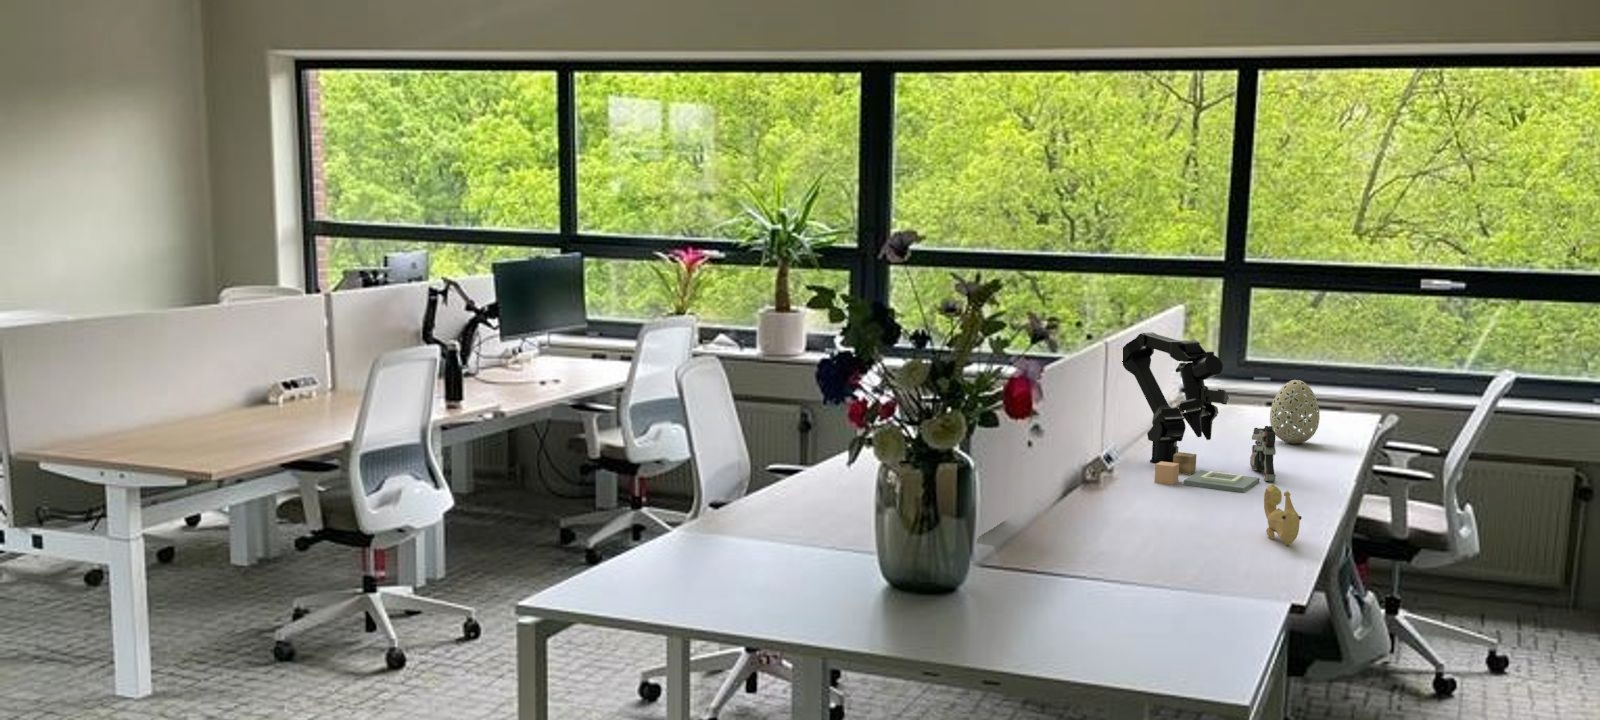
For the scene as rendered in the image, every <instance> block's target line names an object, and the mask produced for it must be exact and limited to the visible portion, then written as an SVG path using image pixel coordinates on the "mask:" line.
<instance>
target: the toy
mask: <svg viewBox="0 0 1600 720" xmlns="http://www.w3.org/2000/svg"><path fill="white" fill-rule="evenodd" d="M1263 496H1264V497H1263V498H1264V499H1263V506H1264V507H1263V509H1264V513H1265V517H1266V519H1267V528H1266V530H1265V532H1266V535H1267V537H1268V538H1269V539H1271V540H1273V539H1275V537H1276V534H1277V535H1278V537H1279V539H1280V540H1281V541H1282V542H1283V543H1284V545H1286V546H1287V545H1288V546H1291V544H1292V543H1293V542H1294V541H1295V540H1296V539H1297V538H1298V535H1299V530H1300V524H1301V523H1300V522H1301V520H1302V516H1301V515H1299V514H1298V512H1297V511H1296V510H1295V508H1294V505H1293V502H1292V499H1291V497H1290V496H1291V492H1289V491H1288V490H1285V491H1284V493H1283V495H1282V491H1281V490H1280V489H1279V488H1278V486H1276V485H1275V484H1274V483H1271V484H1270V485H1267V487H1266V489H1265V491H1264V495H1263ZM1283 496H1284V497H1285V500H1284V510H1282V509H1281V508H1280V507H1278V508H1277V506H1278V505H1280V504H1281V503H1282V499H1283Z"/></svg>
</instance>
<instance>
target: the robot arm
mask: <svg viewBox="0 0 1600 720" xmlns="http://www.w3.org/2000/svg"><path fill="white" fill-rule="evenodd" d="M1122 348H1123V361H1122V362H1123V365H1122V366H1123V368H1124V369H1125V371H1127V372H1129V373H1131V375H1133V376H1134V377H1135V380H1136V381H1137V385H1139V387H1140V390H1141V392H1142V393H1143V396H1144V397H1145V399H1146V402H1147V403H1148V405H1149V408H1150V410H1151V411H1152V416H1153V417H1152V421H1151V424H1152V427H1151V428H1150V429H1149V430H1148V431H1147V433H1146V435H1147V439H1148V441H1151V442H1152V450H1151V451H1152V452H1151V459H1149V463H1150V462H1151V463H1155V464H1157V463H1159V462H1161V461H1163V462H1171V463H1173V455H1174V454H1176V453H1178V452H1179V446H1178V442H1182V441H1183V438H1184V435H1185V432H1186V423H1185V421H1186V422H1187V424H1188V425H1189V426H1190V429H1192V431H1193V432H1194V434H1195V436H1196V437H1197V438H1202V437H1203V436H1204V438H1205V440H1206V441H1210V440H1212V431H1213V430H1212V428H1213V421H1214V420H1215V418H1216V417H1217V416H1218V415H1219V409H1218V406H1216V405H1215V404H1214V403H1217V404H1221V405H1227V403H1228V400H1229V399H1230V398H1229V392H1226V390H1225V389H1220V388H1218V389H1217V390H1212V389H1209V387H1208V386H1207V385H1205V381H1206V380H1208V379H1210V378H1214V377H1215V376H1217V375H1219V374H1221V373H1222V372H1223V366H1224V365H1223V362H1222V360H1221V359H1220V358H1219V357H1218V356H1217V355H1215V352H1214V351H1206V350H1205V349H1204V348H1203V347H1202V346H1201V343H1200V342H1199V341H1198V340H1179V339H1174V338H1170V337H1167V336H1164V335H1161V334H1157V333H1155V332H1141V333H1139V334H1138V335H1137V336H1136V337H1135V338H1134V339H1132V340H1131V341H1129V342H1127V343H1126V344H1125V345H1124V346H1123V347H1122ZM1155 350H1156V351H1160V352H1163V353H1166V354H1169V357H1170V358H1172V359H1173V360H1175V361H1176V362H1180V363H1178V366H1177V367H1176V369H1175V373H1180V376H1181V381H1182V386H1183V388H1181V391H1182V393H1184V397H1185V399H1184V400H1181V401H1180V402H1179V403H1178V406H1177V407H1171V406H1170V405H1169V404H1168V403H1169V402H1168V401H1167V399H1166V397H1165V395H1164V394H1163V391H1162V389H1161V386H1160V385H1159V383H1158V381H1157V379H1156V378H1155V375H1154V374H1153V372H1152V369H1151V362H1152V358H1151V357H1152V356H1153V354H1154V353H1155ZM1204 380H1205V381H1204ZM1212 403H1213V404H1212Z"/></svg>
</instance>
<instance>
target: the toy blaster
mask: <svg viewBox="0 0 1600 720" xmlns="http://www.w3.org/2000/svg"><path fill="white" fill-rule="evenodd" d="M1274 431H1275V430H1274ZM1274 431H1273V429H1272V426H1271V425H1265V426H1264V428H1258V427H1254V429H1253V433H1252V435H1251V440H1252V441H1254V440H1255V441H1254V444H1253V445H1252V446H1251V450H1252V451H1251V455H1250V457H1249V459H1250V460H1249V465H1250V467H1251V469H1252V471H1262V472H1263V471H1264V477H1263V481H1266V482H1267V481H1268V482H1275V481H1276V477H1277V475H1276V473H1275V469H1274V468H1275V467H1274V456H1276V453H1277V452H1276V446H1275V444H1276V435H1275V432H1274Z"/></svg>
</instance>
